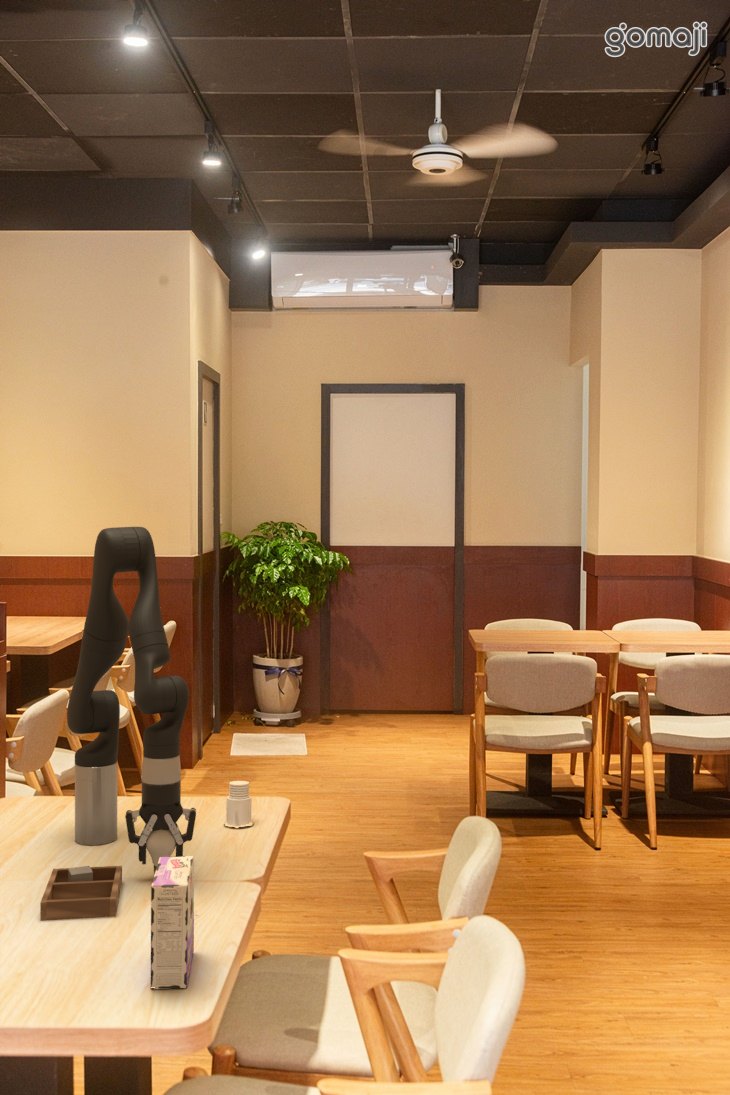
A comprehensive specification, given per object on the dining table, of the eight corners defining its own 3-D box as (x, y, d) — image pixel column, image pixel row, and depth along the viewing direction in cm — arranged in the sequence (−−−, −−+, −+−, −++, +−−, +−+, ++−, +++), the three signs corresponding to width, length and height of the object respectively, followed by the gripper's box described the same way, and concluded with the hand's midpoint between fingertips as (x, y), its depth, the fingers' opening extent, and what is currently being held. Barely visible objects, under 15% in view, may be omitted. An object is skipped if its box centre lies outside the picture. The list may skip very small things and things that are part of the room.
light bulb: (169, 884, 206) (169, 833, 206) (140, 881, 208) (141, 830, 207) (180, 873, 212) (180, 824, 212) (152, 871, 213) (152, 822, 213)
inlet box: (53, 889, 206) (53, 868, 206) (121, 885, 208) (121, 865, 208) (40, 924, 188) (40, 902, 188) (115, 920, 191) (115, 898, 190)
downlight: (251, 830, 246) (252, 786, 246) (221, 829, 246) (221, 786, 246) (255, 821, 254) (256, 779, 254) (226, 821, 254) (226, 779, 254)
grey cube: (67, 889, 204) (67, 868, 204) (89, 886, 206) (89, 865, 206) (71, 895, 201) (71, 874, 200) (92, 892, 202) (92, 872, 202)
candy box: (159, 953, 177) (159, 855, 176) (194, 952, 177) (195, 854, 177) (149, 990, 163) (149, 884, 163) (188, 989, 164) (188, 883, 163)
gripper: (198, 772, 214) (197, 854, 215) (124, 774, 212) (124, 857, 212) (198, 781, 207) (197, 867, 207) (122, 784, 204) (122, 870, 205)
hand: (160, 862), depth 210 cm, fingers closed on light bulb, 6 cm apart
